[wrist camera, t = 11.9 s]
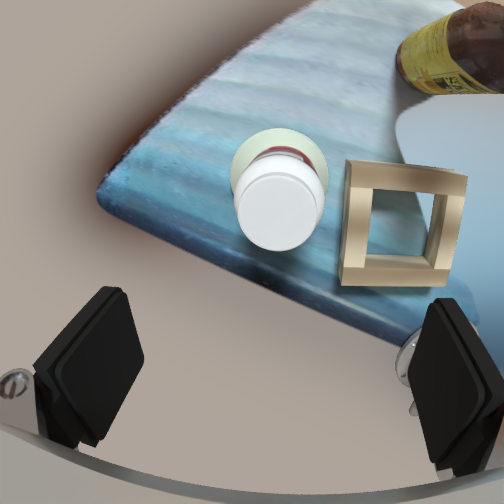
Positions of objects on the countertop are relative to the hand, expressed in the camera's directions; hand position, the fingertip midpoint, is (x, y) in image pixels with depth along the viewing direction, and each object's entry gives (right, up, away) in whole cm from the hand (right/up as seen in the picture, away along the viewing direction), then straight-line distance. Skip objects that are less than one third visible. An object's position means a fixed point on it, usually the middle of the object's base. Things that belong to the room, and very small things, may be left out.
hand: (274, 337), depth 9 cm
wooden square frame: (+14, +6, +20) cm, 25 cm away
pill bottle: (+2, +9, +19) cm, 22 cm away
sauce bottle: (+16, +20, +14) cm, 29 cm away
